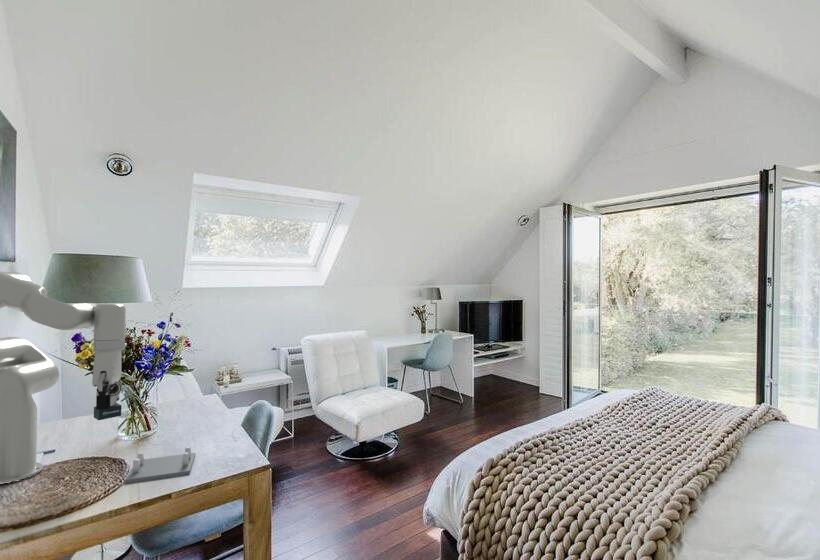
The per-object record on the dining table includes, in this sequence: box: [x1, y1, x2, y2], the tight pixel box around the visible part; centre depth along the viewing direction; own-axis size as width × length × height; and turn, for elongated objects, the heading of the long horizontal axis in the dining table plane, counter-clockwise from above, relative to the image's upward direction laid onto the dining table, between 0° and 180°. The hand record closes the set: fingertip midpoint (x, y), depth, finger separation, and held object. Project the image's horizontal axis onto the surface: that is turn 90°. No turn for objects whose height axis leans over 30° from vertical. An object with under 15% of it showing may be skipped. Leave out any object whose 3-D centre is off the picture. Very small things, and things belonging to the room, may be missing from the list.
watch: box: [93, 381, 124, 421], centre depth 121 cm, size 6×8×11 cm
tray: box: [124, 446, 196, 484], centre depth 123 cm, size 16×14×4 cm
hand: (108, 404), depth 121 cm, fingers closed on watch, 8 cm apart
